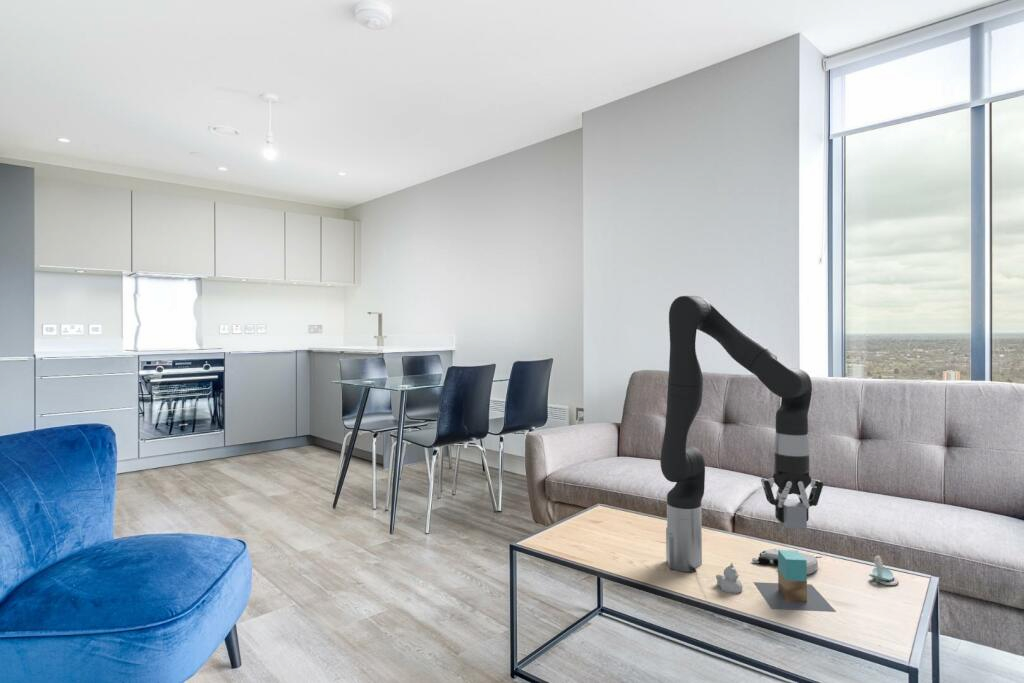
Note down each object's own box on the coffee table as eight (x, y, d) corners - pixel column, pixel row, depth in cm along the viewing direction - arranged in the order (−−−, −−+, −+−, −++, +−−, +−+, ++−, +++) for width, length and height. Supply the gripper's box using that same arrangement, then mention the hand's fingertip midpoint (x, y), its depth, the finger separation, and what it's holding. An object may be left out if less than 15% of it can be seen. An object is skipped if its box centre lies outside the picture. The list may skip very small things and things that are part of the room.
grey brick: (786, 527, 133) (786, 506, 133) (777, 519, 139) (777, 499, 139) (806, 528, 132) (806, 507, 132) (796, 519, 138) (796, 499, 138)
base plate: (771, 613, 130) (771, 608, 130) (753, 586, 143) (753, 582, 143) (836, 616, 128) (836, 611, 128) (811, 589, 142) (811, 584, 142)
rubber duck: (736, 601, 136) (736, 568, 136) (711, 592, 141) (710, 560, 141) (746, 593, 140) (746, 561, 140) (721, 585, 145) (721, 554, 145)
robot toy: (749, 570, 156) (805, 584, 144) (748, 554, 156) (804, 566, 144) (770, 559, 163) (825, 571, 152) (769, 543, 164) (824, 554, 152)
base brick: (787, 601, 133) (786, 580, 133) (778, 590, 139) (778, 569, 139) (807, 602, 132) (806, 581, 132) (797, 590, 138) (797, 570, 138)
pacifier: (901, 580, 146) (874, 573, 151) (901, 557, 146) (875, 550, 150) (894, 590, 141) (866, 582, 146) (895, 565, 141) (867, 558, 145)
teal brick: (786, 580, 133) (786, 559, 133) (778, 569, 139) (778, 549, 139) (806, 581, 132) (806, 560, 132) (797, 570, 138) (797, 550, 138)
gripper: (765, 454, 133) (766, 526, 133) (829, 455, 131) (830, 528, 131) (755, 448, 140) (756, 516, 140) (816, 448, 138) (816, 517, 139)
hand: (791, 521), depth 136 cm, fingers closed on grey brick, 4 cm apart
